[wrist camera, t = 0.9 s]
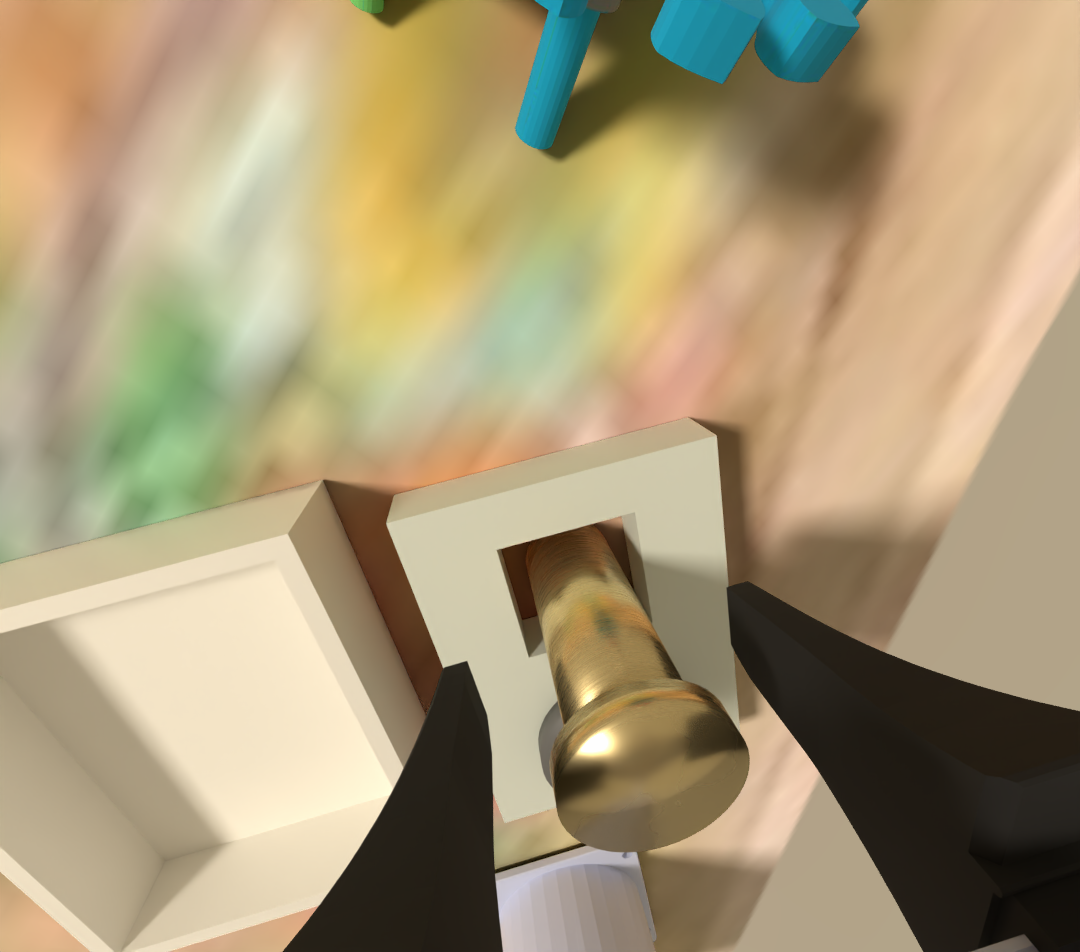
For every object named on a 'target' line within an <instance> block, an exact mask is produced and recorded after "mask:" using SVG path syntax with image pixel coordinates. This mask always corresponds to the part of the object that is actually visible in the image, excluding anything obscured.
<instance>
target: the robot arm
mask: <svg viewBox="0 0 1080 952" xmlns="http://www.w3.org/2000/svg"><path fill="white" fill-rule="evenodd" d="M726 589H727V601H728V614H729V627H730V640H731V646H732V647H733V649H734V651H735V653H736V655H737V656H738V658H739V660H740V662H741V663H742V665H743V667H744V668H745V670H746V672H747V674H748V675H749V677H750V679H751V680H752V681H753V683H754V684H755V685H756V687H757V688H758V690H759V691H760V692H761V694H762V695H763V696H764V698H765V699H766V700H767V702H768V703H769V704H770V706H771V707H772V708H773V710H774V711H775V712H776V714H777V715H778V716H779V718H780V719H781V720H782V722H783V723H784V724H785V726H786V727H787V728H788V730H789V731H790V732H791V734H792V735H793V736H794V738H795V739H796V740H797V742H798V743H799V744H800V746H801V747H802V748H803V750H804V751H805V752H806V754H807V755H808V756H809V758H810V759H811V761H812V762H813V764H814V765H815V767H816V768H817V769H818V771H819V772H820V774H821V776H822V777H823V779H824V780H825V782H826V784H827V785H828V787H829V789H830V790H831V792H832V793H833V795H834V797H835V798H836V800H837V801H838V803H839V805H840V806H841V808H842V809H843V811H844V813H845V814H846V816H847V818H848V819H849V821H850V823H851V825H852V826H853V828H854V829H855V831H856V833H857V835H858V836H859V838H860V840H861V841H862V843H863V844H864V846H865V848H866V850H867V851H868V853H869V855H870V857H871V858H872V860H873V862H874V864H875V865H876V867H877V869H878V870H879V872H880V874H881V876H882V878H883V879H884V881H885V883H886V885H887V886H888V888H889V890H890V892H891V893H892V895H893V897H894V899H895V900H896V902H897V904H898V906H899V908H900V910H901V912H902V913H903V915H904V917H905V919H906V921H907V922H908V924H909V926H910V928H911V930H912V932H913V934H914V935H915V937H916V939H917V941H918V943H919V945H920V947H921V948H922V950H923V952H1080V711H1076V710H1071V709H1067V708H1062V707H1058V706H1053V705H1049V704H1045V703H1040V702H1036V701H1031V700H1028V699H1024V698H1020V697H1016V696H1013V695H1009V694H1005V693H1002V692H998V691H994V690H991V689H987V688H984V687H981V686H977V685H974V684H971V683H967V682H964V681H961V680H958V679H955V678H952V677H949V676H946V675H943V674H940V673H937V672H934V671H931V670H928V669H926V668H923V667H920V666H917V665H915V664H912V663H910V662H907V661H905V660H902V659H900V658H897V657H895V656H892V655H890V654H887V653H885V652H882V651H880V650H878V649H875V648H873V647H871V646H869V645H866V644H864V643H862V642H860V641H858V640H856V639H854V638H851V637H849V636H847V635H845V634H843V633H841V632H839V631H837V630H835V629H833V628H831V627H829V626H827V625H825V624H823V623H821V622H819V621H817V620H816V619H814V618H812V617H810V616H808V615H806V614H804V613H803V612H801V611H799V610H797V609H795V608H794V607H792V606H790V605H788V604H787V603H785V602H783V601H781V600H780V599H778V598H776V597H774V596H773V595H771V594H769V593H767V592H766V591H764V590H762V589H761V588H759V587H757V586H755V585H753V584H752V583H750V582H748V581H747V582H744V583H740V584H737V585H733V586H730V587H726ZM656 938H657V936H656V931H655V927H654V923H653V918H652V914H651V910H650V905H649V901H648V897H647V892H646V888H645V884H644V880H643V875H642V871H641V867H640V862H639V858H638V854H637V852H610V851H604V850H599V849H596V848H593V847H590V846H588V845H587V846H583V847H580V848H577V849H574V850H570V851H567V852H564V853H561V854H557V855H554V856H551V857H548V858H544V859H541V860H538V861H535V862H531V863H528V864H525V865H522V866H518V867H515V868H512V869H509V870H505V871H502V872H499V873H496V874H495V867H494V845H493V772H492V749H491V740H490V732H489V725H488V717H487V713H486V710H485V708H484V705H483V702H482V700H481V697H480V694H479V691H478V689H477V686H476V683H475V681H474V678H473V675H472V672H471V670H470V667H469V664H468V662H467V661H465V662H461V663H458V664H454V665H451V666H447V667H444V669H443V670H442V672H441V676H440V679H439V682H438V685H437V688H436V691H435V694H434V696H433V699H432V702H431V705H430V707H429V710H428V713H427V715H426V718H425V720H424V723H423V725H422V728H421V730H420V733H419V735H418V737H417V740H416V742H415V744H414V747H413V749H412V751H411V753H410V755H409V758H408V760H407V762H406V764H405V766H404V768H403V770H402V772H401V775H400V777H399V779H398V781H397V783H396V785H395V787H394V788H393V790H392V792H391V794H390V796H389V798H388V800H387V802H386V803H385V805H384V807H383V809H382V811H381V812H380V814H379V816H378V818H377V819H376V821H375V823H374V824H373V826H372V828H371V829H370V831H369V833H368V834H367V836H366V837H365V839H364V841H363V842H362V844H361V846H360V847H359V849H358V850H357V852H356V853H355V855H354V856H353V858H352V860H351V861H350V863H349V864H348V866H347V867H346V869H345V870H344V871H343V873H342V874H341V876H340V877H339V878H338V880H337V881H336V883H335V884H334V885H333V887H332V888H331V890H330V891H329V892H328V894H327V895H326V897H325V898H324V899H323V901H322V902H321V904H320V905H319V907H318V908H317V909H316V911H315V912H314V913H313V914H312V916H311V917H310V918H309V920H308V921H307V922H306V924H305V925H304V926H303V927H302V929H301V930H300V931H299V932H298V933H297V935H296V936H295V937H294V938H293V940H292V941H291V942H290V943H289V945H288V946H287V947H286V948H285V949H284V951H283V952H656V950H655V947H654V943H653V942H655V940H656Z"/></svg>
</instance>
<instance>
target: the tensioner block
mask: <svg viewBox="0 0 1080 952" xmlns="http://www.w3.org/2000/svg"><path fill="white" fill-rule="evenodd" d="M619 516H621V517H622V523H623V529H624V534H625V540H626V546H627V552H628V557H629V563H630V569H631V575H632V580H633V586H634V589H633V591H634V592H635V594H636V596H637V598H638V600H639V602H640V603H641V605H642V607H643V609H644V611H645V612H646V614H647V616H648V618H649V620H650V622H651V623H652V625H653V627H654V629H655V631H656V633H657V634H658V636H659V638H660V640H661V642H662V644H663V645H664V647H665V649H666V651H667V653H668V654H669V656H670V658H671V660H672V662H673V664H674V665H675V667H676V669H677V671H678V673H679V675H680V676H681V678H682V680H683V681H688V682H691V683H694V684H697V685H699V686H701V687H703V688H705V689H707V690H708V691H710V692H711V693H712V694H714V695H715V696H716V697H717V698H718V699H719V700H720V701H721V703H722V704H723V706H724V708H725V709H726V711H727V713H728V714H729V716H730V717H731V719H732V721H733V722H734V724H735V726H736V727H737V729H738V731H739V732H740V724H739V712H738V699H737V686H736V674H735V661H734V649H733V647H732V646H731V640H730V627H729V614H728V601H727V589H726V587H729V585H728V572H727V560H726V547H725V534H724V522H723V509H722V496H721V484H720V471H719V458H718V446H717V435H715V434H714V433H712V432H711V431H709V430H707V429H706V428H704V427H703V426H701V425H700V424H698V423H696V422H695V421H693V420H692V419H690V418H689V417H688V418H684V419H680V420H676V421H672V422H669V423H665V424H661V425H657V426H653V427H650V428H646V429H642V430H638V431H635V432H631V433H627V434H623V435H619V436H616V437H612V438H608V439H604V440H600V441H597V442H593V443H589V444H585V445H581V446H578V447H574V448H570V449H566V450H563V451H559V452H555V453H551V454H547V455H544V456H540V457H536V458H532V459H528V460H525V461H521V462H517V463H513V464H509V465H506V466H502V467H498V468H494V469H490V470H487V471H483V472H479V473H475V474H472V475H468V476H464V477H460V478H456V479H453V480H449V481H445V482H441V483H437V484H434V485H430V486H426V487H422V488H418V489H415V490H411V491H407V492H403V493H399V494H396V495H394V497H393V501H392V504H391V508H390V511H389V515H388V518H387V522H386V525H387V527H388V530H389V533H390V535H391V538H392V540H393V543H394V545H395V548H396V550H397V553H398V555H399V558H400V560H401V563H402V565H403V568H404V570H405V573H406V575H407V578H408V580H409V583H410V585H411V588H412V590H413V593H414V595H415V598H416V601H417V603H418V606H419V608H420V611H421V613H422V616H423V618H424V621H425V623H426V626H427V628H428V631H429V633H430V636H431V638H432V641H433V643H434V646H435V648H436V651H437V653H438V656H439V658H440V661H441V663H442V666H443V669H444V667H447V666H451V665H454V664H458V663H461V662H465V661H467V662H468V664H469V667H470V670H471V672H472V675H473V678H474V681H475V683H476V686H477V689H478V691H479V694H480V697H481V700H482V702H483V705H484V708H485V710H486V713H487V717H488V725H489V732H490V740H491V749H492V772H493V794H494V797H495V799H496V802H497V805H498V807H499V810H500V812H501V815H502V817H503V820H504V822H505V823H507V822H510V821H513V820H516V819H520V818H523V817H526V816H530V815H533V814H536V813H540V812H543V811H546V810H549V809H553V808H556V802H555V797H554V791H553V786H552V780H551V775H550V767H549V760H550V754H551V750H552V747H553V744H554V741H555V739H556V737H557V736H558V734H559V732H560V731H561V729H562V728H563V721H562V717H561V713H560V708H559V704H558V700H557V696H556V691H555V687H554V683H553V678H552V674H551V670H550V665H549V661H548V657H547V652H546V648H545V644H544V639H543V635H542V631H541V626H540V622H539V618H538V616H535V617H532V618H528V619H524V620H522V618H521V615H520V612H519V608H518V605H517V601H516V598H515V595H514V591H513V588H512V585H511V581H510V578H509V574H508V571H507V568H506V564H505V561H504V557H503V554H502V551H501V549H502V548H506V547H509V546H513V545H517V544H520V543H524V542H528V541H531V540H535V539H539V538H542V537H546V536H550V535H553V534H557V533H561V532H564V531H568V530H572V529H575V528H579V527H583V526H586V525H590V524H594V523H597V522H601V521H605V520H608V519H612V518H616V517H619Z"/></svg>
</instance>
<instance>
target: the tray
mask: <svg viewBox="0 0 1080 952" xmlns="http://www.w3.org/2000/svg"><path fill="white" fill-rule="evenodd" d="M425 718H426V714H425V712H424V710H423V707H422V705H421V703H420V701H419V698H418V696H417V694H416V691H415V689H414V687H413V685H412V682H411V680H410V678H409V675H408V673H407V671H406V669H405V666H404V664H403V662H402V659H401V657H400V655H399V653H398V650H397V648H396V646H395V644H394V641H393V639H392V637H391V634H390V632H389V630H388V628H387V625H386V623H385V621H384V618H383V616H382V614H381V612H380V609H379V607H378V605H377V602H376V600H375V598H374V596H373V593H372V591H371V589H370V587H369V584H368V582H367V580H366V577H365V575H364V573H363V571H362V568H361V566H360V564H359V561H358V559H357V557H356V555H355V552H354V550H353V548H352V545H351V543H350V541H349V539H348V536H347V534H346V532H345V530H344V527H343V525H342V523H341V520H340V518H339V516H338V514H337V511H336V509H335V507H334V504H333V502H332V500H331V498H330V495H329V493H328V491H327V488H326V486H325V484H324V482H323V480H320V481H316V482H312V483H308V484H305V485H301V486H297V487H293V488H289V489H285V490H282V491H278V492H274V493H270V494H266V495H262V496H258V497H255V498H251V499H247V500H243V501H239V502H235V503H232V504H228V505H224V506H220V507H216V508H212V509H208V510H205V511H201V512H197V513H193V514H189V515H185V516H182V517H178V518H174V519H170V520H166V521H162V522H159V523H155V524H151V525H147V526H143V527H139V528H135V529H132V530H128V531H124V532H120V533H116V534H112V535H109V536H105V537H101V538H97V539H93V540H89V541H85V542H82V543H78V544H74V545H70V546H66V547H62V548H59V549H55V550H51V551H47V552H43V553H39V554H35V555H32V556H28V557H24V558H20V559H16V560H12V561H9V562H5V563H1V564H0V872H1V873H2V874H3V875H5V876H6V877H7V878H8V879H9V880H10V881H11V882H12V883H14V884H15V885H16V886H17V887H18V888H19V889H20V890H21V891H23V892H24V893H25V894H26V895H27V896H28V897H29V898H31V899H32V900H33V901H34V902H35V903H36V904H37V905H38V906H40V907H41V908H42V909H43V910H44V911H45V912H46V913H48V914H49V915H50V916H51V917H52V918H53V919H54V920H55V921H57V922H58V923H59V924H60V925H61V926H62V927H63V928H64V929H66V930H67V931H68V932H69V933H70V934H71V935H72V936H74V937H75V938H76V939H77V940H78V941H79V942H80V943H81V944H83V945H84V946H85V947H86V948H87V949H88V950H89V951H91V952H169V951H172V950H176V949H179V948H182V947H185V946H189V945H192V944H195V943H198V942H202V941H205V940H208V939H212V938H215V937H218V936H221V935H225V934H228V933H231V932H234V931H238V930H241V929H244V928H248V927H251V926H254V925H257V924H261V923H264V922H267V921H270V920H274V919H277V918H280V917H283V916H287V915H290V914H293V913H297V912H300V911H303V910H306V909H310V908H313V907H316V906H319V905H320V904H321V902H322V901H323V899H324V898H325V897H326V895H327V894H328V892H329V891H330V890H331V888H332V887H333V885H334V884H335V883H336V881H337V880H338V878H339V877H340V876H341V874H342V873H343V871H344V870H345V869H346V867H347V866H348V864H349V863H350V861H351V860H352V858H353V856H354V855H355V853H356V852H357V850H358V849H359V847H360V846H361V844H362V842H363V841H364V839H365V837H366V836H367V834H368V833H369V831H370V829H371V828H372V826H373V824H374V823H375V821H376V819H377V818H378V816H379V814H380V812H381V811H382V809H383V807H384V805H385V803H386V802H387V800H388V798H389V796H390V794H391V792H392V790H393V788H394V787H395V785H396V783H397V781H398V779H399V777H400V775H401V772H402V770H403V768H404V766H405V764H406V762H407V760H408V758H409V755H410V753H411V751H412V749H413V747H414V744H415V742H416V740H417V737H418V735H419V733H420V730H421V728H422V725H423V723H424V720H425Z"/></svg>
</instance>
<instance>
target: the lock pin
mask: <svg viewBox="0 0 1080 952" xmlns="http://www.w3.org/2000/svg"><path fill="white" fill-rule="evenodd" d="M526 566H527V570H528V574H529V579H530V583H531V587H532V592H533V596H534V600H535V605H536V609H537V613H538V618H539V622H540V626H541V631H542V635H543V639H544V644H545V648H546V652H547V657H548V661H549V665H550V670H551V674H552V678H553V683H554V687H555V691H556V696H557V700H558V704H559V708H560V713H561V717H562V721H563V728H562V729H561V731H560V732H559V734H558V736H557V737H556V739H555V741H554V744H553V747H552V750H551V754H550V760H549V767H550V775H551V780H552V786H553V791H554V797H555V802H556V808H557V812H558V816H559V819H560V821H561V823H562V825H563V826H564V828H565V829H566V830H567V832H569V833H570V834H571V835H572V836H573V837H574V838H575V839H577V840H578V841H580V842H581V843H584V844H586V845H588V846H590V847H593V848H596V849H599V850H604V851H610V852H641V851H647V850H653V849H657V848H661V847H665V846H668V845H671V844H673V843H676V842H679V841H681V840H683V839H686V838H688V837H690V836H692V835H693V834H695V833H697V832H699V831H701V830H702V829H704V828H705V827H707V826H708V825H710V824H711V823H712V822H714V821H715V820H716V819H717V818H719V817H720V816H721V815H722V814H723V813H724V812H725V811H726V810H727V809H728V808H729V807H730V805H731V804H732V803H733V802H734V801H735V799H736V798H737V796H738V795H739V793H740V792H741V790H742V788H743V786H744V784H745V781H746V778H747V776H748V771H749V759H750V758H749V752H748V748H747V745H746V742H745V740H744V739H743V737H742V735H741V734H740V732H739V731H738V729H737V727H736V726H735V724H734V722H733V721H732V719H731V717H730V716H729V714H728V713H727V711H726V709H725V708H724V706H723V704H722V703H721V701H720V700H719V699H718V698H717V697H716V696H715V695H714V694H712V693H711V692H710V691H708V690H707V689H705V688H703V687H701V686H699V685H697V684H694V683H691V682H688V681H683V680H682V678H681V676H680V675H679V673H678V671H677V669H676V667H675V665H674V664H673V662H672V660H671V658H670V656H669V654H668V653H667V651H666V649H665V647H664V645H663V644H662V642H661V640H660V638H659V636H658V634H657V633H656V631H655V629H654V627H653V625H652V623H651V622H650V620H649V618H648V616H647V614H646V612H645V611H644V609H643V607H642V605H641V603H640V602H639V600H638V598H637V596H636V594H635V592H634V591H633V589H632V587H631V585H630V583H629V581H628V580H627V578H626V576H625V574H624V572H623V571H622V569H621V567H620V565H619V563H618V561H617V560H616V558H615V556H614V554H613V552H612V550H611V549H610V547H609V545H608V543H607V541H606V539H605V538H604V536H603V534H602V533H601V532H600V530H599V529H598V528H596V527H595V526H594V525H592V524H590V525H586V526H583V527H579V528H575V529H572V530H568V531H564V532H561V533H557V534H553V535H550V536H546V537H542V538H539V539H535V540H531V542H530V543H529V546H528V548H527V552H526Z"/></svg>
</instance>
